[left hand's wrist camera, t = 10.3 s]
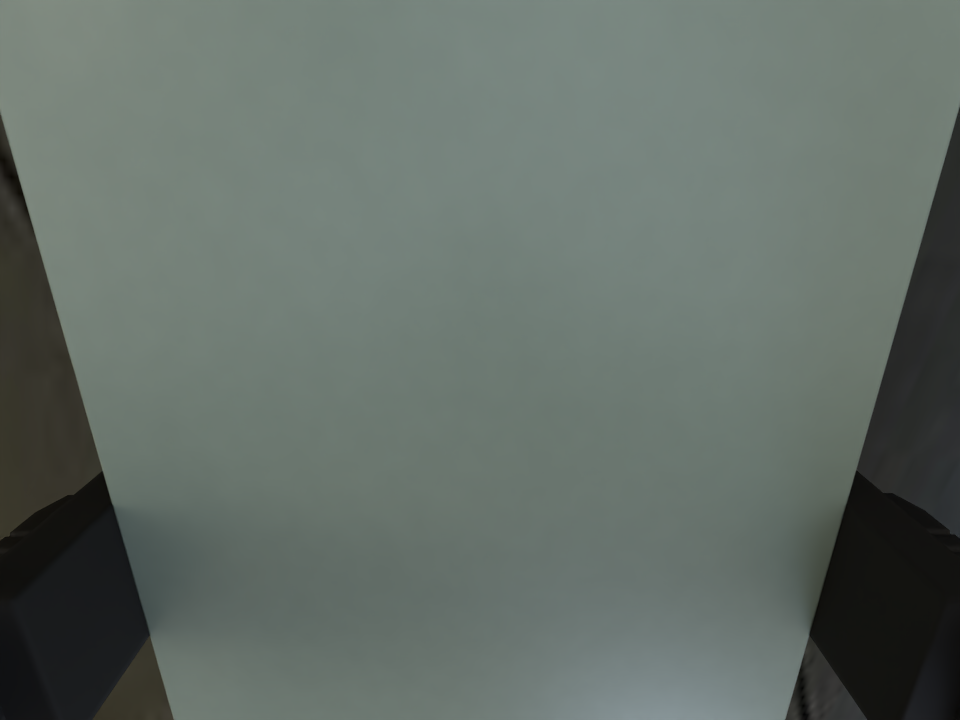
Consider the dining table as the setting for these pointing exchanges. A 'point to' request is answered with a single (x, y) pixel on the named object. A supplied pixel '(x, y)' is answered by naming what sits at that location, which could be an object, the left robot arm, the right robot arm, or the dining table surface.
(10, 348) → the dining table surface
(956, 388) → the dining table surface
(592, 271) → the cabinet
